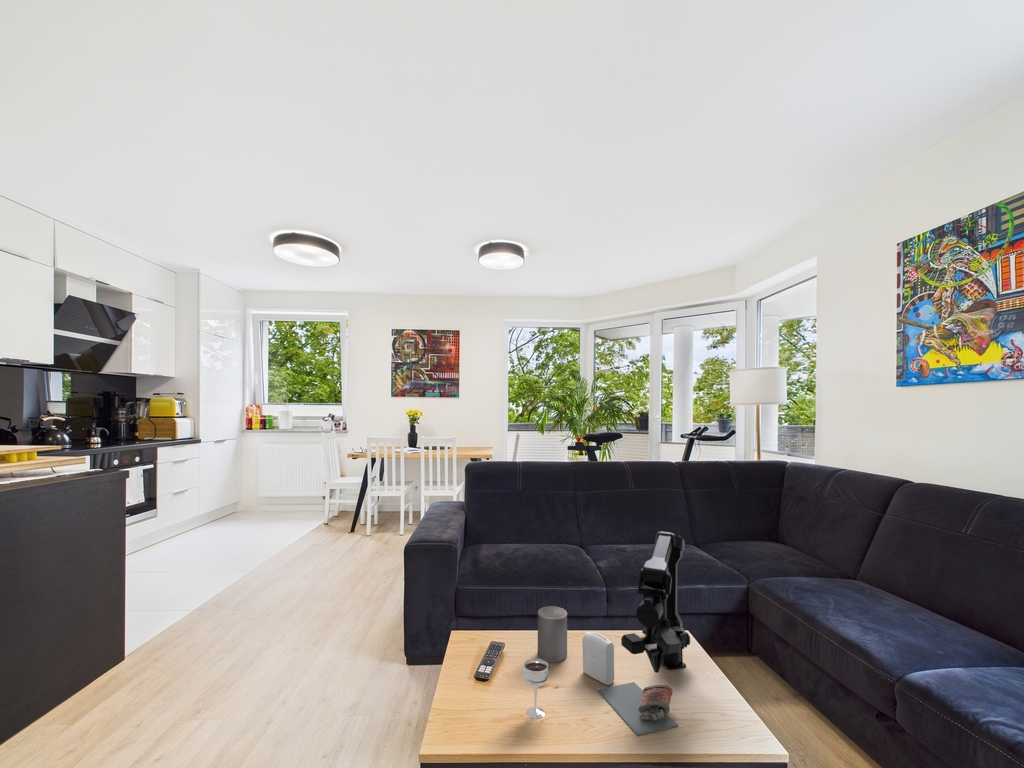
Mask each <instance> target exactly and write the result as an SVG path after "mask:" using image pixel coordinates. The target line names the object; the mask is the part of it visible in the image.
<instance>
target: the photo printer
mask: <svg viewBox="0 0 1024 768" xmlns="http://www.w3.org/2000/svg"><path fill="white" fill-rule="evenodd" d="M582 671H583V673H584V674H586V675H587V676H589V677H591V678H593V679H595V680H596V681H598V682H600V683H601V684H604V685H607V686H610V685H613V683H614V682H615V646H614V643H612V642H611V641H610V639H608V638H607V637H606V636H605V635H603V634H600V633H598V632H595V631H587V632H584V634H583V637H582Z"/></svg>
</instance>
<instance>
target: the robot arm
mask: <svg viewBox="0 0 1024 768" xmlns="http://www.w3.org/2000/svg"><path fill="white" fill-rule="evenodd" d="M654 546H655V547H654V548H653V549H654V550H653V553H652V557H651V558H650V559H648V560H646V561H645V562H644V565H643V567H642V568H641V569H640V573H639V578H638V579H639V580H638V586H637V595H641V596H642V595H643V596H642V601H641V603H640V604H639V606H638V607H637V610H636V611H635V612H636V614H635V615H636V618H637V620H638V622H639V623H640V624H641V625H643V627H644V628H642V629H641V632H642V633H641V634H643V635H644V636H641V637H640V636H639V635H638V634H636V633H635V632H634V633H626V634H623V635H622V636H621V638H620V639H621V640H620V641H621V642H620V643H621V644H620V645H621V646H622V647H623V648H625V650H627V651H628V652H629V653H630V654H632V655H638V654H643V653H644V652H645V653H646V655H647V658H648V661H649V663H650V664H651V667H652V669H653V672H655V673H656V674H657V673H660V670H661V667H662V665H663V667H665V668H667V669H668V670H674V669H680V668H685V667H687V663H684V661H683V654H684V653H683V650H684V649H685V648H688V646H690V645H691V637H690V635H689V633H688V632H686V630H685V628H684V627H683V620H682V618H681V616H680V614H679V612H678V563H679V562H680V560H681V559H682V557H683V555H684V554H683V553H684V552H685V550H686V549H685V546H686V544H685V539H684V538H683V537H681V535H677V534H675V533H673V532H668V531H661V530H660V531H657V533H656V534H655V543H654ZM643 586H644V587H643Z"/></svg>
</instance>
